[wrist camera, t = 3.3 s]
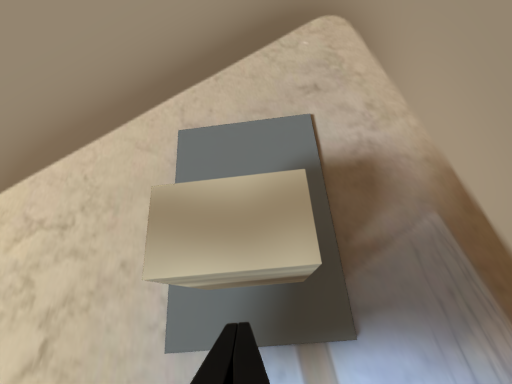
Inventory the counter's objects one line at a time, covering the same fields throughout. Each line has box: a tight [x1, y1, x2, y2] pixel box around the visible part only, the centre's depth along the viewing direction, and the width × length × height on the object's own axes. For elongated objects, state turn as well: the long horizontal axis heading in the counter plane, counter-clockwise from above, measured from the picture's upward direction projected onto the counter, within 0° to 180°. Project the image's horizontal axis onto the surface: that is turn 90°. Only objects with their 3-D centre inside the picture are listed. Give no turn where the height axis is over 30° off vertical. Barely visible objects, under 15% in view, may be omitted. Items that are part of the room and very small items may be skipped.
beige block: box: [142, 169, 322, 290], centre depth 13 cm, size 4×6×8 cm, turn 94°
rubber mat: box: [165, 114, 357, 354], centre depth 18 cm, size 16×11×1 cm
